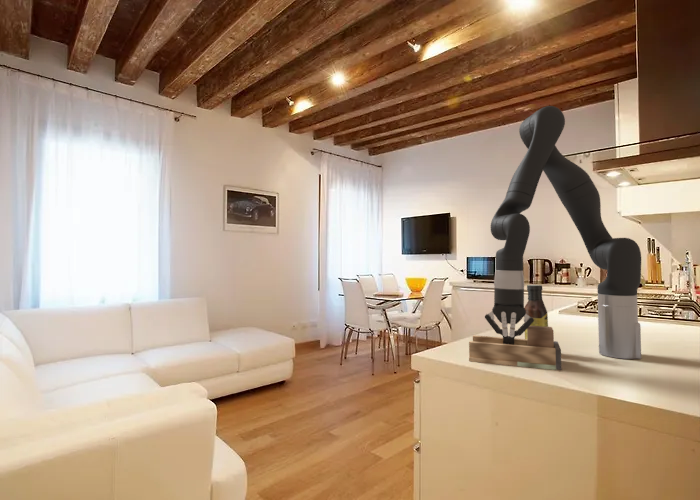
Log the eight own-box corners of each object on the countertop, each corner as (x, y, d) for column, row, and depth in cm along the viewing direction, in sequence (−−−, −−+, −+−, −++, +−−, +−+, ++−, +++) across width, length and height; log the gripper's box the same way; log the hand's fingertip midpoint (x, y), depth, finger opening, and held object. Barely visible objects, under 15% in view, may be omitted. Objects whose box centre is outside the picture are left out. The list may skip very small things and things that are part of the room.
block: (552, 356, 101) (551, 326, 101) (554, 362, 96) (553, 330, 96) (527, 354, 104) (527, 325, 104) (528, 360, 98) (527, 329, 98)
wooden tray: (557, 359, 103) (557, 341, 103) (561, 370, 93) (561, 350, 93) (473, 351, 112) (473, 334, 112) (469, 361, 102) (468, 342, 102)
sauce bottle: (551, 356, 106) (550, 285, 106) (528, 355, 107) (526, 285, 108) (544, 350, 112) (543, 284, 113) (522, 349, 114) (521, 284, 114)
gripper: (535, 287, 104) (534, 349, 103) (484, 284, 109) (484, 344, 109) (536, 289, 97) (535, 356, 97) (482, 286, 102) (481, 350, 102)
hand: (508, 350), depth 103 cm, fingers closed
